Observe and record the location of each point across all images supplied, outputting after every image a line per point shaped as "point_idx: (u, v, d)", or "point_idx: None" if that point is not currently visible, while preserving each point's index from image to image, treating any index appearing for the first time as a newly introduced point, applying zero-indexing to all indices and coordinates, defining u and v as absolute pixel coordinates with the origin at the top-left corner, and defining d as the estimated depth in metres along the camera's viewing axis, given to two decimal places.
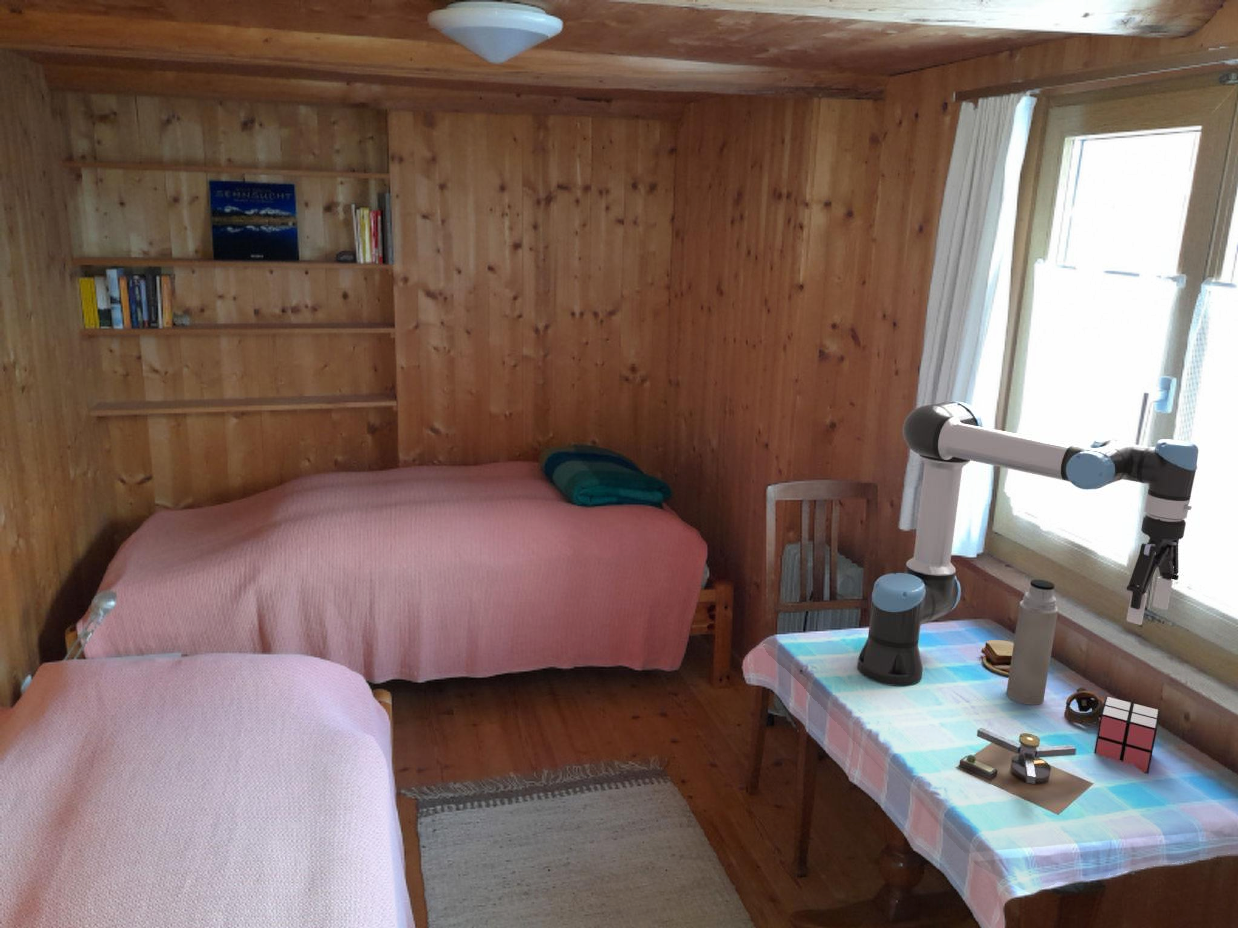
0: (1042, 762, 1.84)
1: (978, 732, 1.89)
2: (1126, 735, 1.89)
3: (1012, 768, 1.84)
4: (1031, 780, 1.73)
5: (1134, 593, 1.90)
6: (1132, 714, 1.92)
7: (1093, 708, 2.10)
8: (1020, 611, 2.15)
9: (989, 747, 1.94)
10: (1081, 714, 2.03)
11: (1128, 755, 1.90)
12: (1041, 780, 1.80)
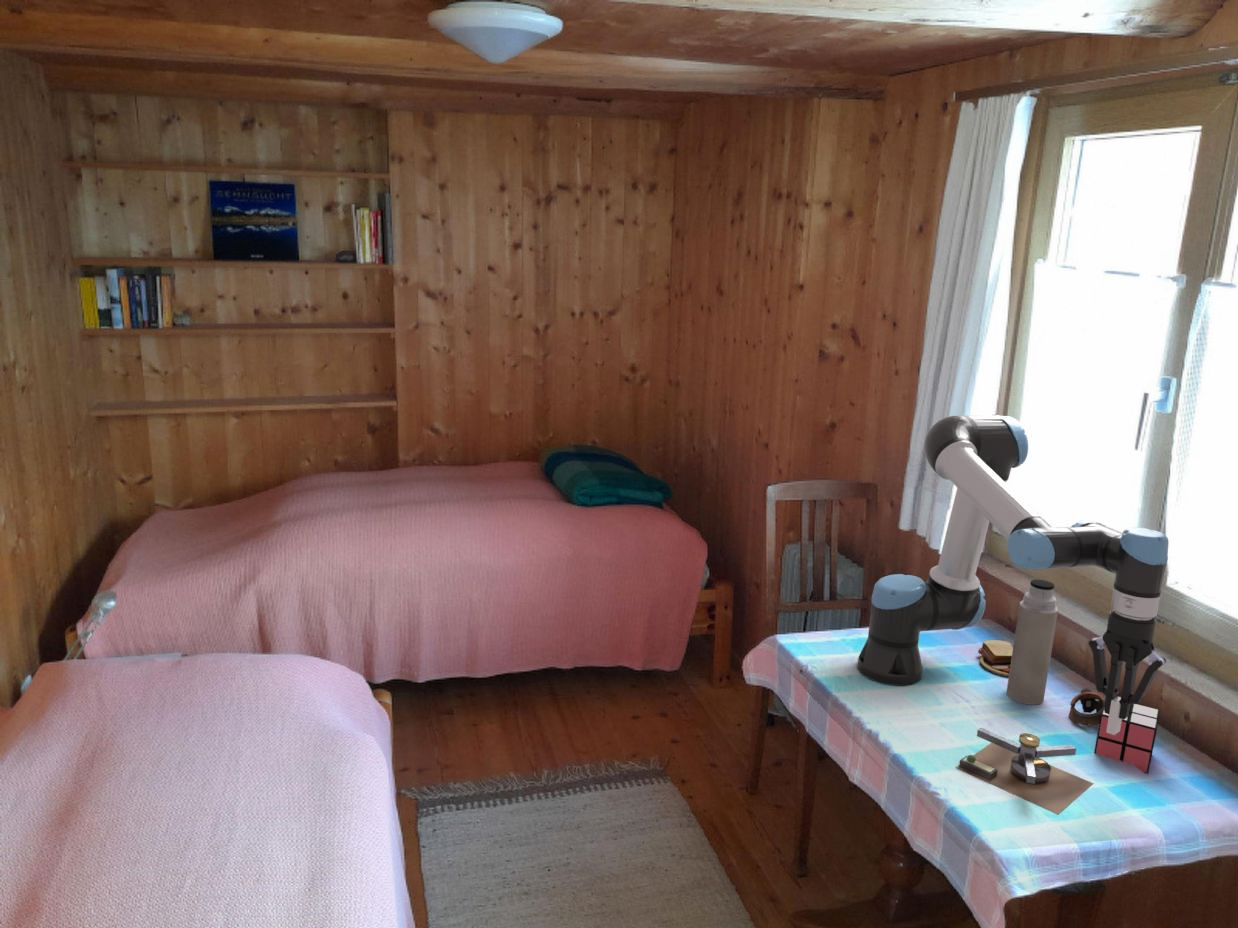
0: (1042, 762, 1.84)
1: (978, 732, 1.89)
2: (1126, 735, 1.89)
3: (1012, 768, 1.84)
4: (1031, 780, 1.73)
5: None
6: (1132, 714, 1.92)
7: (1097, 709, 2.10)
8: (1020, 611, 2.15)
9: (989, 747, 1.94)
10: (1086, 715, 2.03)
11: (1128, 755, 1.90)
12: (1041, 780, 1.80)
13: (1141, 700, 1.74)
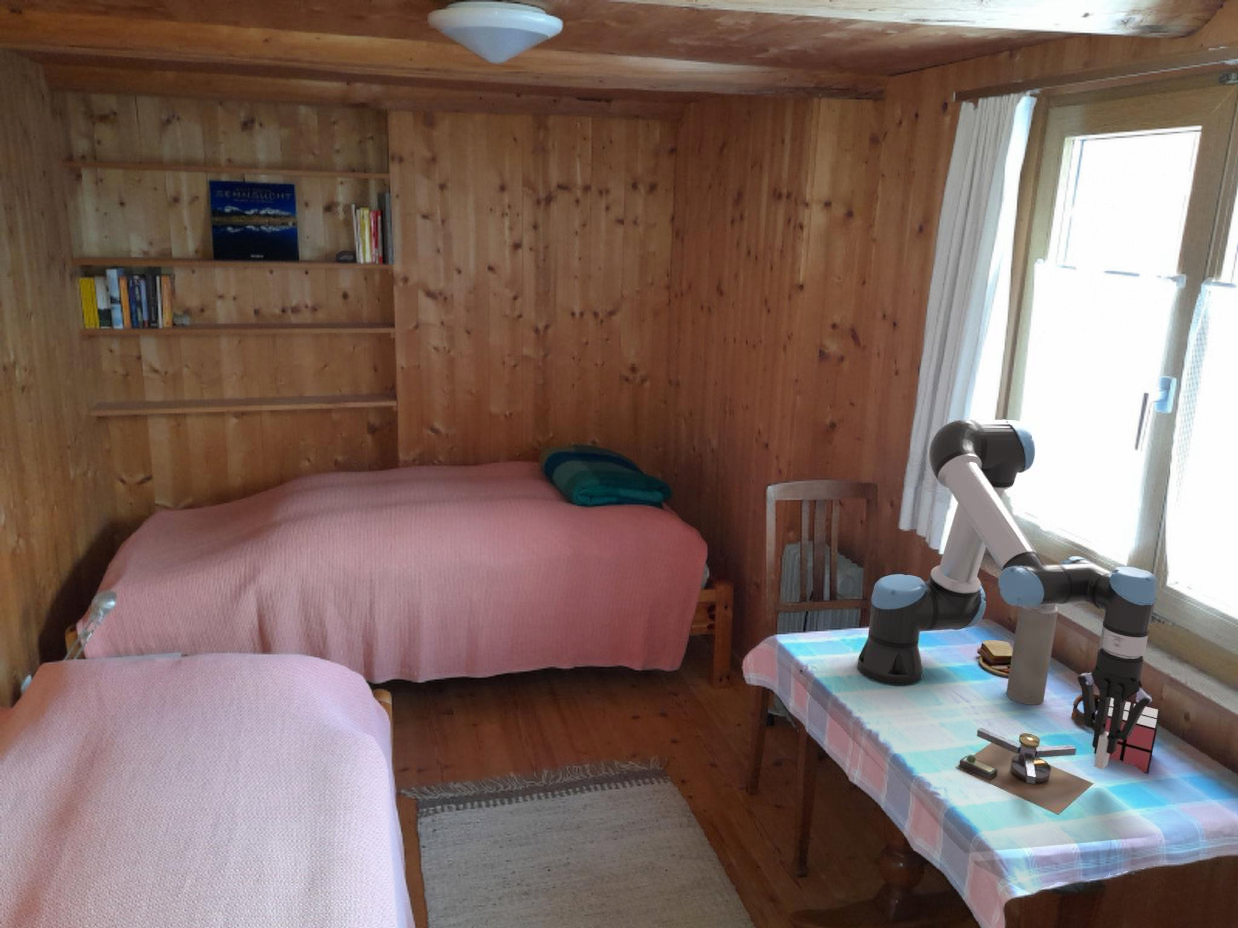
0: (1042, 762, 1.84)
1: (978, 732, 1.89)
2: None
3: (1012, 768, 1.84)
4: (1031, 780, 1.73)
5: None
6: None
7: None
8: (1020, 611, 2.15)
9: (989, 747, 1.94)
10: None
11: (1128, 755, 1.90)
12: (1041, 780, 1.80)
13: (1128, 736, 1.77)
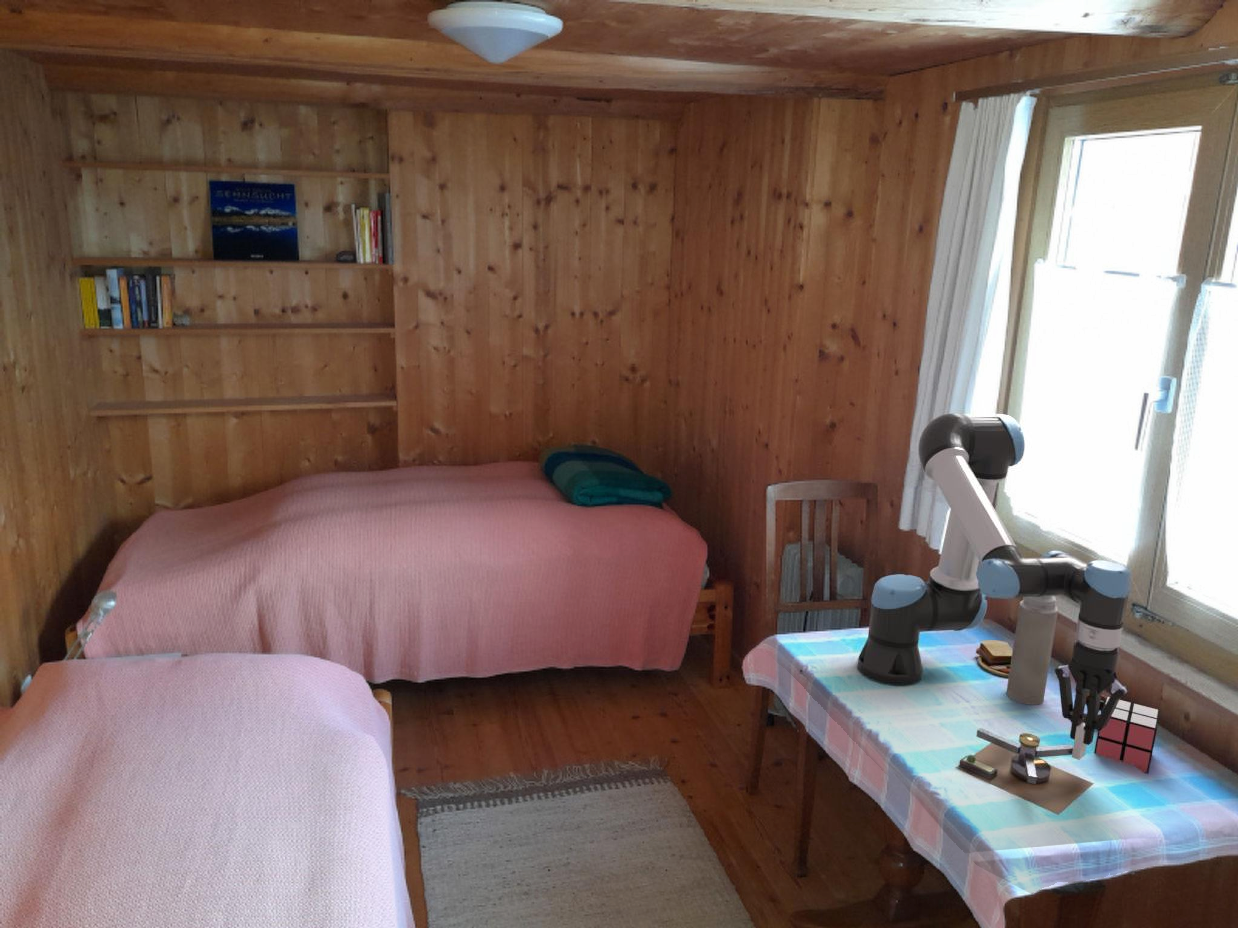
0: (1042, 762, 1.84)
1: (978, 732, 1.89)
2: (1126, 735, 1.89)
3: (1012, 768, 1.84)
4: (1032, 780, 1.73)
5: None
6: (1132, 714, 1.92)
7: None
8: (1020, 611, 2.15)
9: (989, 747, 1.94)
10: None
11: (1128, 755, 1.90)
12: (1041, 780, 1.80)
13: (1104, 726, 1.80)
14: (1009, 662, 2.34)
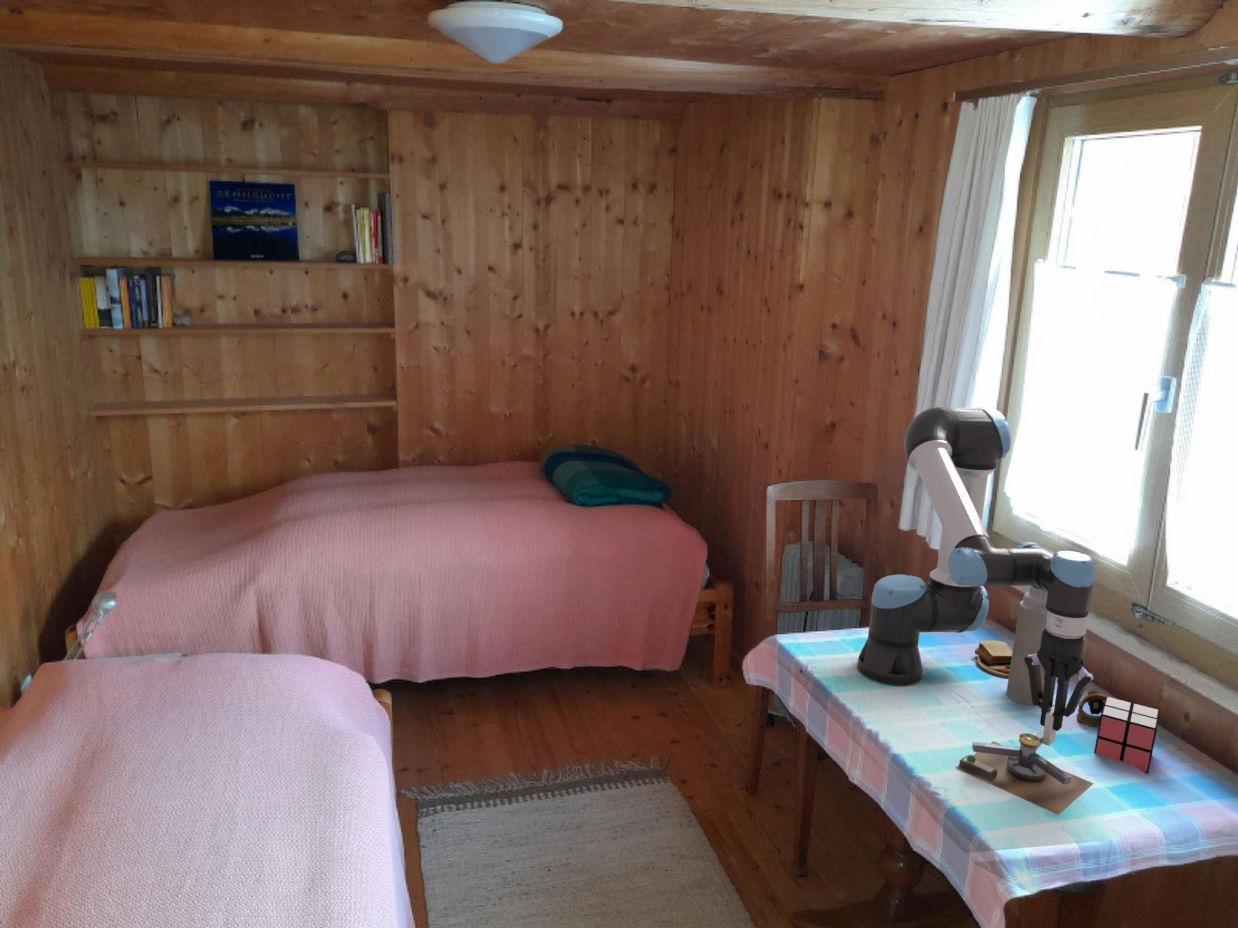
0: None
1: (975, 747, 1.83)
2: (1126, 735, 1.89)
3: (1017, 772, 1.82)
4: (1068, 781, 1.74)
5: None
6: (1132, 714, 1.92)
7: None
8: (1020, 611, 2.15)
9: None
10: (1095, 717, 2.02)
11: (1128, 755, 1.90)
12: (1045, 775, 1.82)
13: None
14: (1008, 662, 2.34)
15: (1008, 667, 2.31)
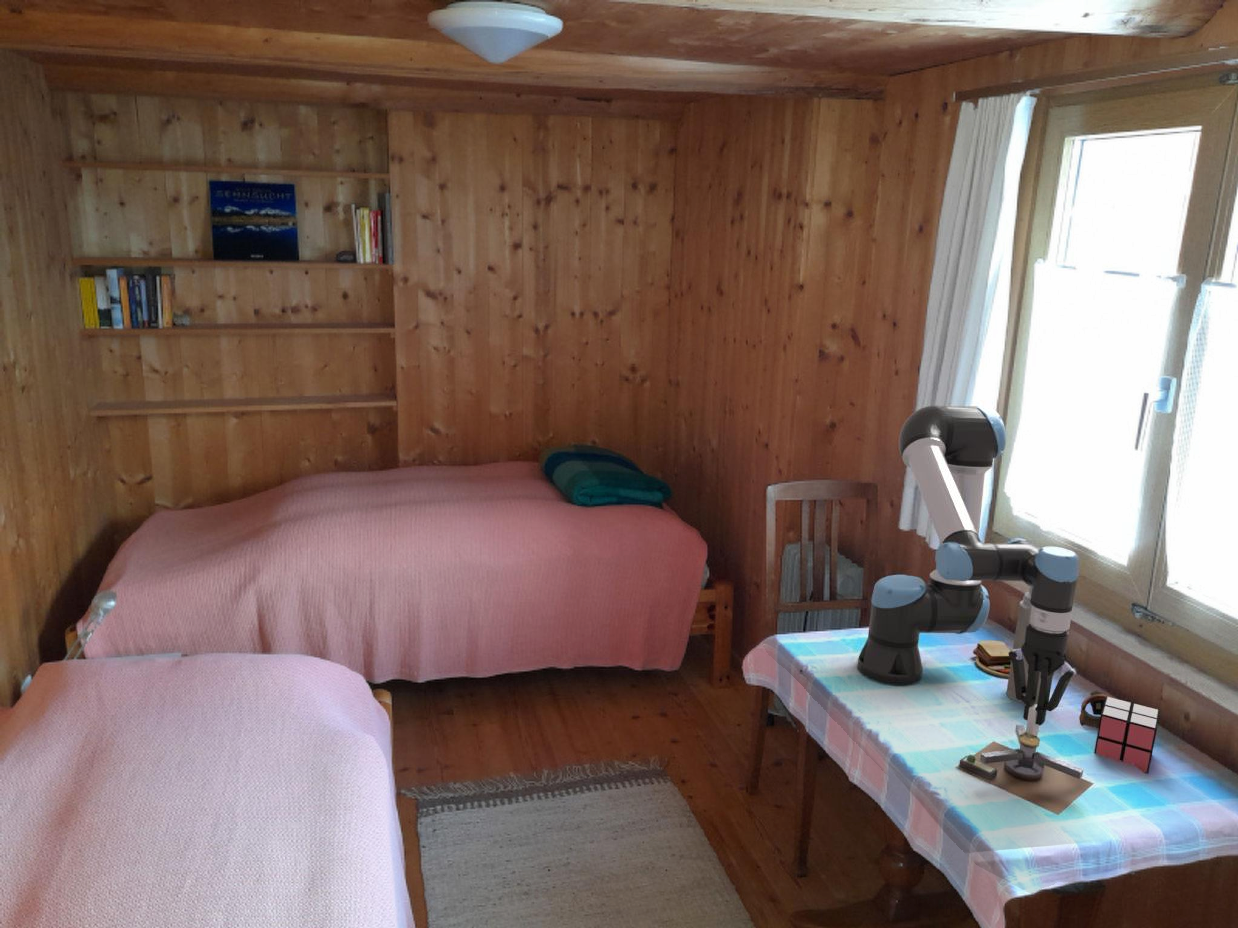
0: None
1: (986, 759, 1.79)
2: (1126, 735, 1.89)
3: (1023, 774, 1.81)
4: (1081, 774, 1.76)
5: None
6: (1132, 714, 1.92)
7: None
8: (1020, 611, 2.15)
9: (989, 747, 1.94)
10: (1097, 718, 2.02)
11: (1128, 755, 1.90)
12: None
13: (1055, 707, 1.86)
14: (1006, 662, 2.34)
15: (1007, 667, 2.31)
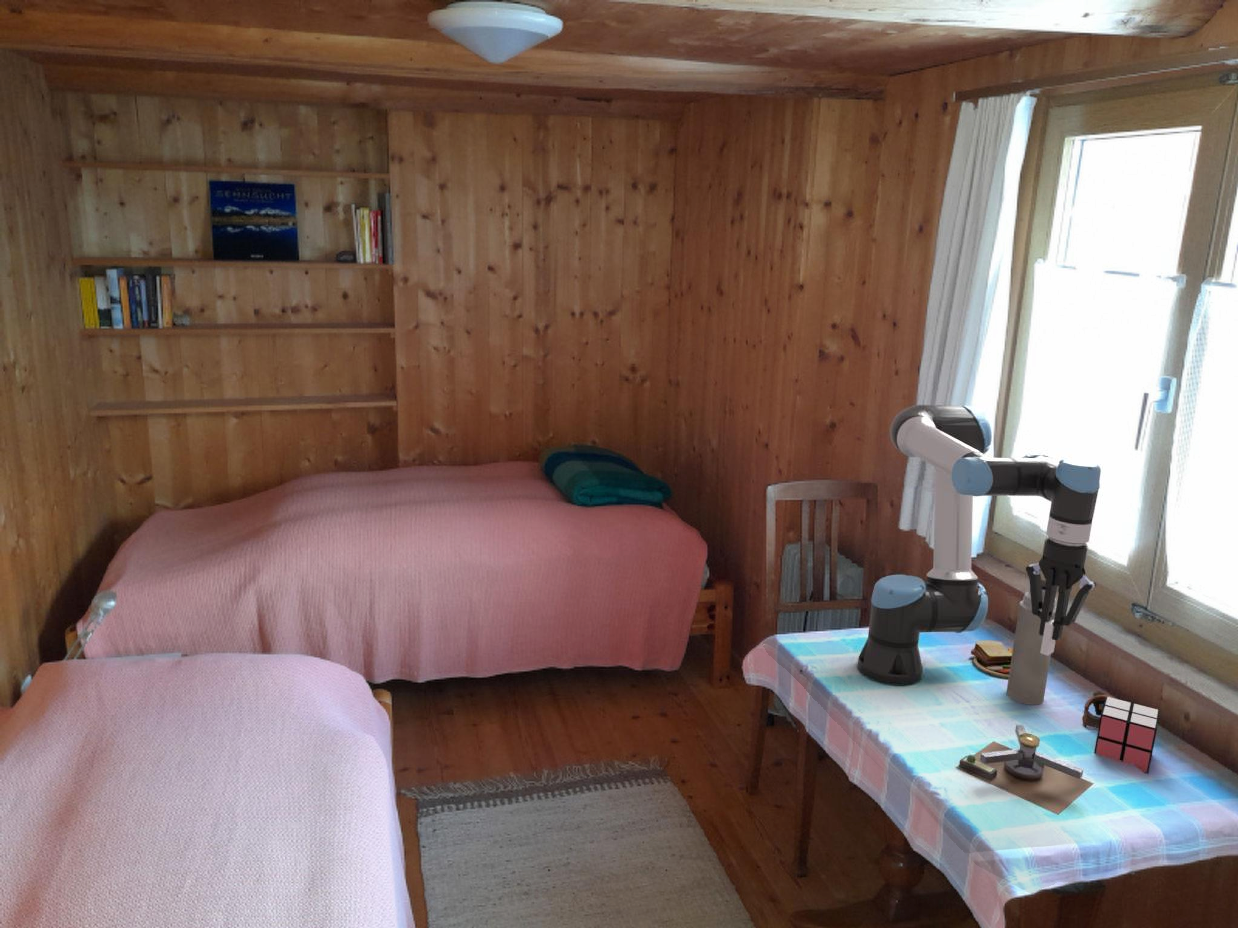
0: None
1: (986, 759, 1.79)
2: (1126, 735, 1.89)
3: (1023, 774, 1.81)
4: (1081, 774, 1.76)
5: None
6: (1132, 714, 1.92)
7: None
8: (1020, 611, 2.15)
9: (989, 747, 1.94)
10: None
11: (1128, 755, 1.90)
12: None
13: (1073, 622, 1.84)
14: (1004, 662, 2.34)
15: (1005, 667, 2.31)
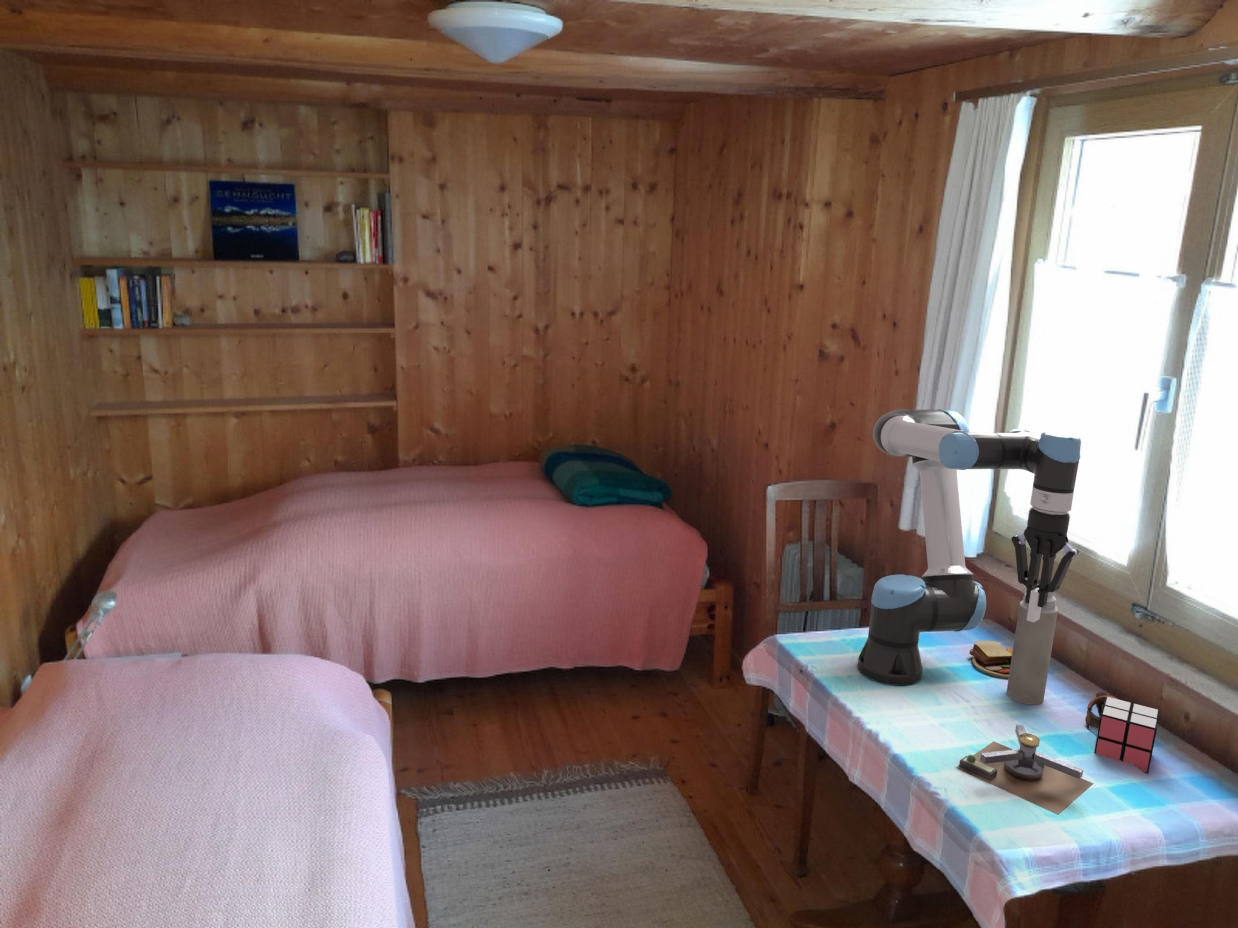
0: None
1: (986, 759, 1.79)
2: (1126, 735, 1.89)
3: (1023, 774, 1.81)
4: (1081, 774, 1.76)
5: None
6: (1132, 714, 1.92)
7: None
8: (1020, 611, 2.15)
9: (989, 747, 1.94)
10: None
11: (1128, 755, 1.90)
12: None
13: (1057, 589, 1.91)
14: (1003, 662, 2.34)
15: (1004, 667, 2.31)
